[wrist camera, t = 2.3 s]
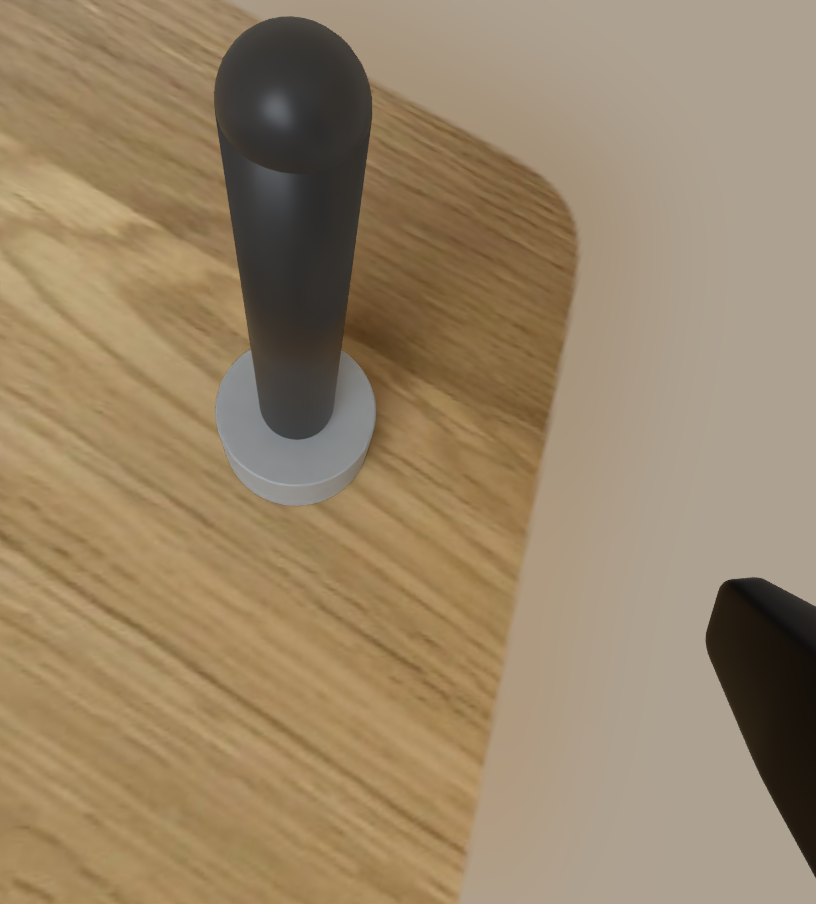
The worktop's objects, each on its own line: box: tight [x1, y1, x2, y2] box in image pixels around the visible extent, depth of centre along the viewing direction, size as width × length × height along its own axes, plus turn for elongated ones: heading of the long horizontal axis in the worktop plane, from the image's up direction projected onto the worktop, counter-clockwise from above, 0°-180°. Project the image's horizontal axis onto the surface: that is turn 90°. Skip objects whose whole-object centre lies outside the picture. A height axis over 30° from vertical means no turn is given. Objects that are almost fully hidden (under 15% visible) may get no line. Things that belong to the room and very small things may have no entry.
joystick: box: [214, 17, 376, 506], centre depth 15 cm, size 4×4×14 cm
